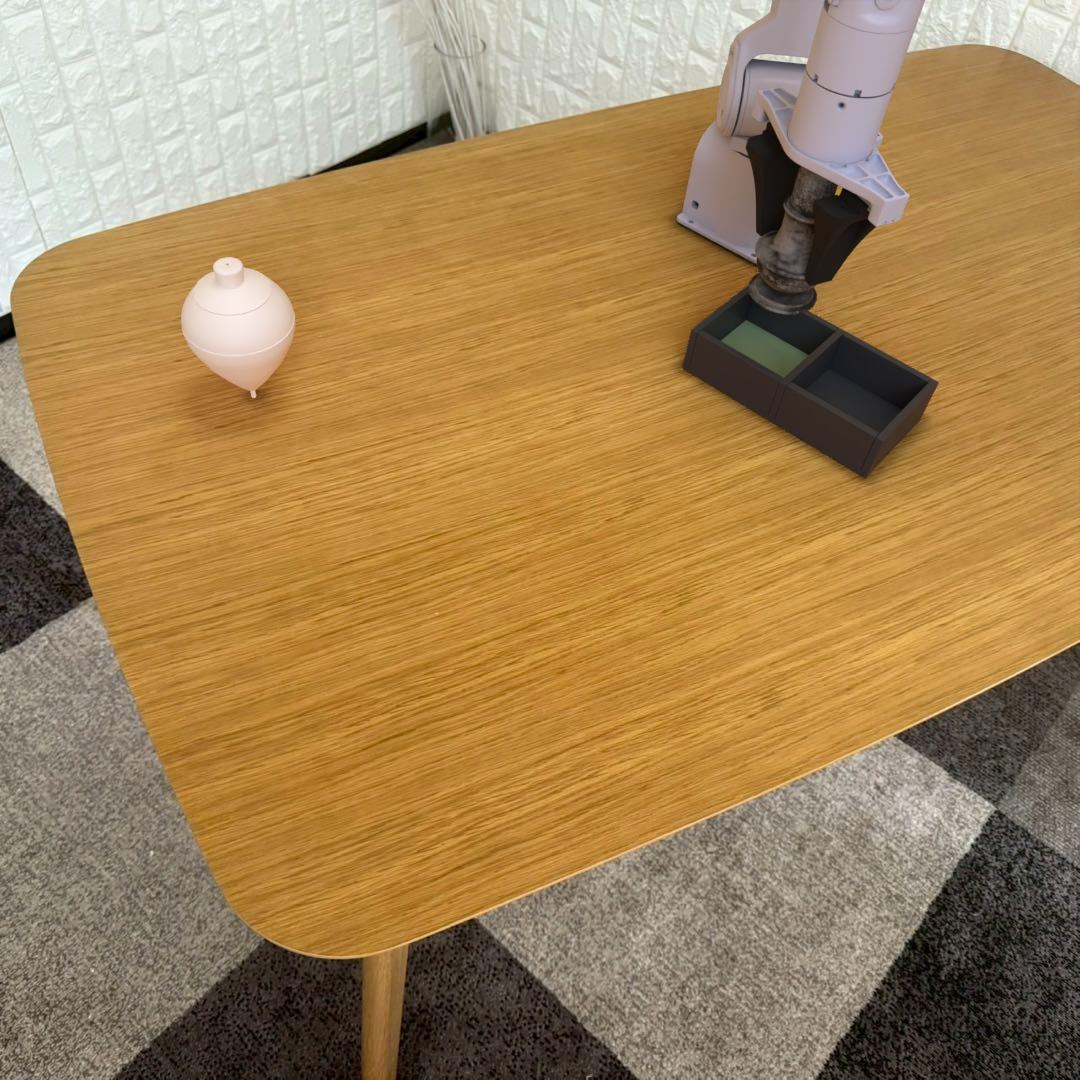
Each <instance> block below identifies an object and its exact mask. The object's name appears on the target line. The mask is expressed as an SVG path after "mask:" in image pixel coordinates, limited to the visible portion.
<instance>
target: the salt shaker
mask: <svg viewBox="0 0 1080 1080" xmlns="http://www.w3.org/2000/svg"><path fill="white" fill-rule="evenodd" d="M838 187H839V185H837V184H835V183H833V182H831V181H829V180H827V179H825V178H823V177H821V176H819V175H818V174H816V173H814V172H812V171H810V170H808V169H806V168H804V167H802V166H800V168H799V172H798V175H797V178H796V182H795V185H794V189H793V192H792V195H790V196H788V197H787V198H786V199H785V201H784V205H783V206H784V209H785V211H786V212H785V215H784V219H783V222H782V225H781V228H780V230H776V231H772V232H769V233H766V234H764V235H763V236H762V237H760V238H759V239H758V241H757V242H756V245H755V253H756V256H757V260H756V261H757V264H756V267H757V271H758V273H756V274H755V275H753V276H752V277H751V278H750V280H749V281H748V285H749V286H748V285H747V286H748V290H749V294H750V296H751V297H752V298H753V300H754V301H755V302H756V303H758V304H759V305H760V306H762V307H763V308H765V309H767V310H770V311H772V312H775V313H780V314H788V315H795V314H801V313H804V312H806V311H810V310H811V309H813V308H814V307H815V305H816V303H817V300H818V293H817V291H816V288H815V287H817V285H814V286H810V285H809V284H808V283H807V282H806V281H805V272H806V267H807V263H808V259H809V256H810V252H811V249H812V244H813V237H814V212H813V206H812V205H813V202H814V200H817V199H821V198H825V197H829V196H833V195H836V193H837V190H838Z"/></svg>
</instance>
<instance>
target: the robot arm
mask: <svg viewBox="0 0 1080 1080" xmlns="http://www.w3.org/2000/svg"><path fill="white" fill-rule="evenodd" d="M925 2H926V0H771V4H770V5H771V6H770V10H769V12H768V13H767V14H766V15H764V16H762V17H761V18H760V19H757V20H756V22H753V23H752V24H750V25H749V26H747V27H746V28H744V29H742V30H741V31H739V33H737V34H736V36H735V37H734V39H733V41H732V42H731V44H730V45H729V50H728V56H727V60H726V64H725V67H724V69H723V74H722V77H721V82H720V86H719V87H720V88H719V92H718V93H719V94H718V100H717V108H716V119H715V120H714V121H713V122H712V123H711V124H710V125H709V126H708V127H707V128H706V130H705V131H704V132H703V133H702V136H701V138H700V140H699V141H698V144H697V146H696V149H695V151H694V154H693V157H692V160H691V166H690V171H689V176H688V180H687V186H686V191H685V196H684V200H683V206H682V209H681V212H680V213H679V214H677V216H676V222H677V223H679V224H681V225H682V226H684V227H686V228H688V229H690V230H692V231H693V232H695V233H697V234H699V235H701V236H702V237H705V238H707V239H709V240H710V241H712V242H714V243H716V244H718V245H719V246H722V247H723V248H725V249H727V250H729V251H731V252H733V253H735V254H737V255H738V256H740V257H742V258H744V259H745V260H748V261H749V262H751V263H754V264H755V265H757V261H756V260H757V256H756V253H755V245H756V242H757V241H758V239H759V238H760V237H762V236H763V235H764V234H766V233H769V232H772V231H776V230H780V228H781V225H782V222H783V219H784V215H785V212H786V211H785V209H784V206H783V205H784V201H785V199H786V198H787V197H788V196H790V195H792V192H793V189H794V185H795V182H796V178H797V175H798V172H799V168H800V166H802V167H804V168H806V169H808V170H810V171H812V172H814V173H816V174H818V175H819V176H821V177H823V178H825V179H827V180H829V181H831V182H833V183H835V184H837V185H838V187H840V188H841V191H840V193H839V194H835V195H833V196H829V197H825V198H821V199H817V200H814V202H813V205H812V206H813V212H814V237H813V244H812V249H811V252H810V256H809V259H808V263H807V267H806V272H805V281H806V282H807V283H808V284H809V285H810V286H814V285H816V286H817V285H822V284H824V283H829V282H832V281H833V280H834V278H835V276H836V275H837V274H838V272H839V270H840V269H841V267H842V266H843V265H844V263H845V262H846V261H847V260H848V258H849V256H850V255H851V254H852V253H853V251H854V250H855V249H856V248H857V246H859V244H860V243H862V241H863V240H864V239H865V238H866V237H867V236H868V235H869V234H870V233H871V232H873V231H874V230H875V229H876V228H878V227H882V226H887V225H891V224H893V223H897V222H900V221H901V219H902V217H903V213H904V211H905V209H906V206H907V204H908V202H909V200H910V197H911V196H910V194H909V193H908V192H907V191H906V190H905V189H904V188H903V187H902V186H901V185H900V184H899V183H898V181H897V180H896V178H895V176H894V175H893V173H892V172H891V169H890V168H889V166H888V165H887V163H886V161H885V159H884V158H883V155H882V154H881V152H880V150H879V149H878V148H879V147H881V144H882V142H883V139H884V135H883V134H882V133H881V132H880V129H881V127H882V124H883V120H884V118H885V115H886V113H887V110H888V107H889V104H890V101H891V98H892V96H893V93H894V91H895V90H894V89H895V86H896V84H897V81H898V78H899V77H900V76H899V75H900V74H901V71H902V68H903V64H904V62H905V59H906V56H907V53H908V50H909V47H910V45H911V42H912V39H913V37H914V33H915V30H916V27H917V25H918V22H919V19H920V17H921V13H922V11H923V8H924V5H925ZM760 55H775V56H776V55H777V56H785V57H794V58H795V57H796V58H803V59H805V58H806V59H807V62H806V63H799V62H789V61H778V60H770V59H759V58H756V57H758V56H760Z"/></svg>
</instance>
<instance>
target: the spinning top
mask: <svg viewBox="0 0 1080 1080" xmlns="http://www.w3.org/2000/svg"><path fill="white" fill-rule="evenodd" d="M212 269H213V271H210V272H209V273H207V274H205V275H204V276H202V277H201V278H199V280H198V281H197V282H196V284H195V285H194V286H193V287H192V289H191V290H190V291H189V293H188V295H186V298H185V300H184V301H183V305H182V308H181V314H180V324H181V325H180V327H181V331H182V334H183V337H184V339H185V342H186V343H187V345H188V348H189V349H190V350H191V352H192V353H193V354H194V355H195V356H196V357H197V359H199V360H200V361H201V362H202V363H203V364H204V365H205V366H206V367H207V368H208V369H210V370H211V371H212V372H213V373H214V374H216V375H218V377H221V378H223V379H224V380H226V381H227V382H229V383H231V384H233V386H237V387H238V388H240V389H243V390H246V391H249V392H250V396H251V398H252V399H256V398H257V392H256V391H257V390H258V389H259V388H261V387H262V386H263V385H264V384H265V383H266V382H267V381H268V380H269V379H270V378H271V377H272V375H273V374H274V373H275V372H276V371H277V369H278V368H279V367H280V365H281V364H282V363H283V362H284V359H285V358H286V355H287V354H288V351H289V350H290V347H291V345H292V342H293V339H294V337H295V333H296V314H295V310H294V307H293V304H292V302H291V300H290V298H289V297H288V295H287V293H286V292H285V291H284V290H283V289H282V287H281V286H280V285H278V284H277V283H276V282H275V281H273V280H272V279H271V278H269V277H267V276H266V275H265V274H263V273H261V271H258V270H256V269H253V268H250V267H244V264H243V262H242V260H240V259H238V258H237V257H234V256H226V257H221V258H219V259H217V260H216V261H215V262H214V263H213V265H212Z"/></svg>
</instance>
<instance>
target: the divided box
mask: <svg viewBox="0 0 1080 1080" xmlns="http://www.w3.org/2000/svg"><path fill="white" fill-rule="evenodd" d="M748 286H749V284H748V285H747V286H745V287H744V288H742V289H741V290H740V291H739V292H737V293H736V294H735V295H733V296H732V297H731V298H730V299H728V300H727V301H725V303H723V304H722V305H721V306H719V307H718V308H717V309H716V310H714V311H713V312H712V313H711V314H709V315H708V316H707V317H706V318H704V319H703V320H701V321H700V322H699V323H698V324H696V325H695V326H694V327H692V329H690V333H689V337H688V342H687V346H686V351H685V355H684V359H683V362H682V363H683V364H682V370H684V371H686V372H688V373H690V374H691V375H693V376H694V377H696V378H698V379H699V380H701V381H702V382H705V383H706V384H707V385H709V386H711V387H713V388H714V389H715V390H717V391H719V392H721V393H722V394H724V395H726V396H728V397H729V398H731V399H732V400H734V401H736V402H738V403H739V404H741V405H742V406H743V407H746V408H747V409H749V410H751V411H752V412H754V413H755V414H758V415H759V416H760V417H763V418H764V419H766V420H767V421H769V422H770V423H772V424H774V425H775V426H778V427H779V428H781V429H782V430H784V431H785V432H787V433H789V434H790V435H792V436H794V437H795V438H797V439H799V440H801V441H802V442H804V443H805V444H807V445H809V446H810V447H812V448H814V449H816V450H818V451H819V452H820V453H822V454H824V455H825V456H827V457H829V458H830V459H832V460H834V461H835V462H837V463H839V464H840V465H842V466H843V467H846V468H847V469H849V470H850V471H852V472H854V473H855V474H857V475H859V476H861V477H862V478H863V479H866V478H868V476H869V475H871V474H872V472H873V471H874V470H875V469H876V468H877V467H878V466H879V465H880V463H882V462H883V460H884V459H885V458H886V457H887V456H888V455H890V453H891V452H892V451H893V450H894V449H895V448H896V447H897V446H898V445H899V443H901V441H902V440H903V439H904V438H905V437H906V436H907V435H908V434H909V432H910V431H911V430H913V428H914V427H915V426H916V425H917V424H918V423H919V422H920V421H921V420H922V417H923V415H924V413H925V411H926V409H927V407H928V405H929V404H930V401H931V399H932V398H933V395H934V394H935V391H936V390H937V388H938V386H939V384H940V382H939V381H938V380H936V379H934V378H932V377H930V376H928V375H927V374H926V373H923V372H921V371H920V370H918V369H916V368H914V367H912V366H910V365H909V364H906V363H905V362H903V361H901V360H899V359H898V358H896V357H894V356H892V355H890V354H888V352H887V353H886V352H884V351H883V350H881V349H879V348H878V347H875V346H873V344H870V343H868V342H866V341H865V340H863V339H862V338H861V339H860V338H859V337H857V336H856V335H854V334H852V333H850V332H848V331H846V330H844V329H842V328H840V327H839V326H837V325H835V324H833V323H832V322H830V321H828V320H826V319H825V318H823V317H821V316H819V315H817V314H816V313H813V312H812V311H810V310H809V311H806V312H804V313H801V314H795V315H788V314H780V313H775V312H772V311H770V310H767V309H765V308H763V307H762V306H760V305H759V304H758V303H756V302H755V301H754V300H753V298H752V297H751V296H750V294H749V290H748Z"/></svg>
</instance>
